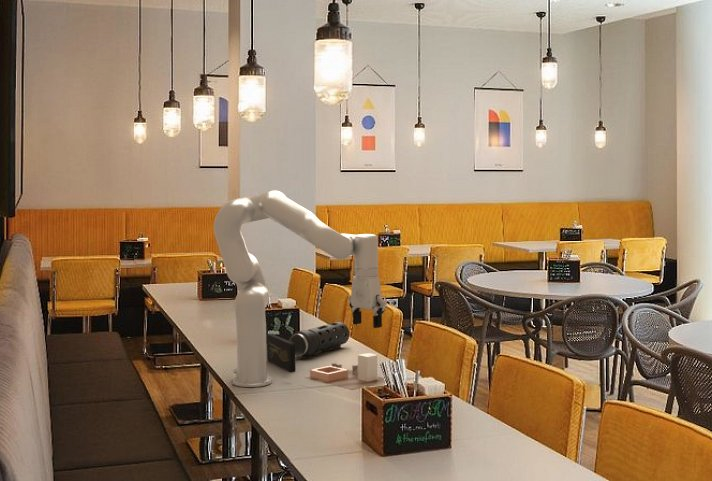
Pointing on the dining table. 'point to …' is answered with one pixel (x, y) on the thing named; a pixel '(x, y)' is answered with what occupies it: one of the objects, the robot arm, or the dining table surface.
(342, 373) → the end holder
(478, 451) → the dining table surface
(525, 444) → the dining table surface
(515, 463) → the dining table surface
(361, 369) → the white rectangular block
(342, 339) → the muzzle brake
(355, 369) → the board
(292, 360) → the nameplate
